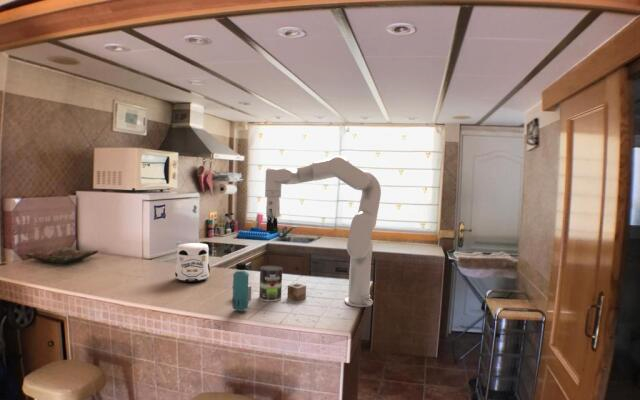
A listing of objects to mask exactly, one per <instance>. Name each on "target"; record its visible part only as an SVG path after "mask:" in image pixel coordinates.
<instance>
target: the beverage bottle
mask: <svg viewBox="0 0 640 400" xmlns="http://www.w3.org/2000/svg"><path fill="white" fill-rule="evenodd" d="M235 270H236V271H235V272H234V273H233V280H232V300H231V303H232V309H233V310H236V311H244V310H247V309H248V306H249V300H248V283H249V275H250V274H249V273H248V272H247V271H246V270H247V264H246V263H244V262H238V263H236V265H235Z"/></svg>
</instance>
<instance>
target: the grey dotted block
mask: <svg viewBox="0 0 640 400" xmlns="http://www.w3.org/2000/svg"><path fill="white" fill-rule="evenodd" d="M251 284H252V283H250V282H248V301H250V300H252V285H251Z"/></svg>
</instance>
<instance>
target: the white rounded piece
mask: <svg viewBox="0 0 640 400" xmlns="http://www.w3.org/2000/svg"><path fill="white" fill-rule="evenodd" d="M209 250H210V248H209V245H208V244H207V243H201V242H199V243H197V242H191V243H190V242H189V243H187V242H186V243H181V244H178V245H177V246H176V252H177V253H176V266H175V269H174V276H175V278H176V279H177V280H178V281H180V282H184V283H195V282H201V281H205V280H206V279H208V278H209V276H210V273H211V268H210V264H209Z"/></svg>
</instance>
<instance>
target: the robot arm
mask: <svg viewBox="0 0 640 400" xmlns="http://www.w3.org/2000/svg"><path fill="white" fill-rule="evenodd" d="M333 178H337V179H339V181H341V182H343V183H344V184H346V185H348V186H349V187H351V188H352V189H354V190H356V191H361V198H360V200H359V207H358V211H357V213H356V214H355V215H354V216H353V217H352V220H351V223H350V228H349V231H348V238H347V243H346V251H347V253H348V255H349V256H350V258H349V274H348V295H347V296H346V297H345V298H344V303H345V304H346V305H347V306H351V307H354V308H355V307H356V308H367V307H370V306H372V305H373V303H374V300H372V298H371V295H370V293H371V292H370V291H371V289H370V287H371V274H372V273H371V270H372V257H373V241H372V234H373V230H374V229H375V227H376V224H377V220H378V219H377V218H378V213H379V208H380V201H381V196H382V195H381V194H382V189H381V185H380V182H379V180H378V179H377V177H376V176H374V175H373V174H372V173H371V172H369V171H367V170H363V169H360V168H358V167H357V166H355V165H354V164H353V163H351V162H350V160H349V159H348V158H347V157H345V156H342V155H336V156H333V157H332V158H328V159H325V160H318V161H313V162H312V163H311V164H309V165H307V166H301V167H297V168H296V167H295V168H285V167H284V168H277V167H275V168H274V167H273V168H272V167H271V168H269V167H268V168H267V169H266V170H265V187H264V189H265V190H264V191H265V192H264V198H266V210H265V215H266V226H265V227H266V232H274V229H278V218H279V217H280V211H281V209H280V206H281V204H280V198H281V197H282V185H298V184H301V183H302V184H303V183H308V182H314V181H316V182H317V181H321V180H325V179H333Z"/></svg>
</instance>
